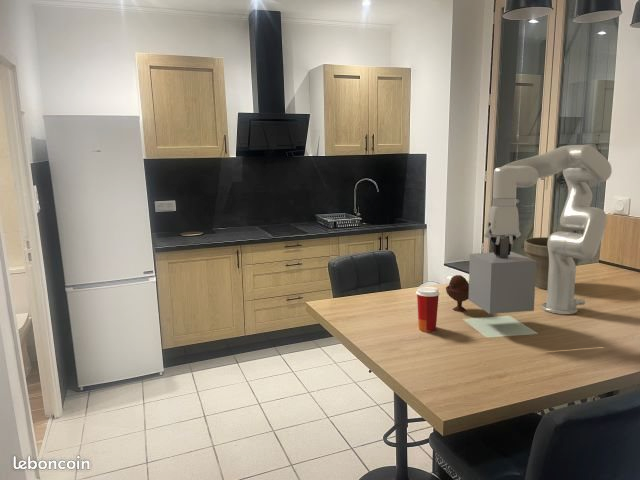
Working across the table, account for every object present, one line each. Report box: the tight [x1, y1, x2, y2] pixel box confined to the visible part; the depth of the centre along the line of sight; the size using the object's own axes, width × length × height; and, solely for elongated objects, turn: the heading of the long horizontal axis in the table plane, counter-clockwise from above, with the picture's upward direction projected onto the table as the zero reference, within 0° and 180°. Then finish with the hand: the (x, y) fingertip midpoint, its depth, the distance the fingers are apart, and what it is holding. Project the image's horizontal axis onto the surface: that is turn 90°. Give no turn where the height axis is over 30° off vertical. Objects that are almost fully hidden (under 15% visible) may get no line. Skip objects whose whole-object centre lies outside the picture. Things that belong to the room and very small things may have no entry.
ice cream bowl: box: [445, 274, 469, 313], centre depth 183 cm, size 11×11×15 cm
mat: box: [462, 315, 539, 339], centre depth 166 cm, size 19×19×1 cm
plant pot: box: [523, 236, 580, 291], centre depth 213 cm, size 25×25×22 cm
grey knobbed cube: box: [468, 236, 537, 315], centre depth 162 cm, size 16×16×25 cm
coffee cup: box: [415, 286, 441, 333], centre depth 164 cm, size 8×8×15 cm
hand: (501, 254), depth 161 cm, fingers closed on grey knobbed cube, 3 cm apart
